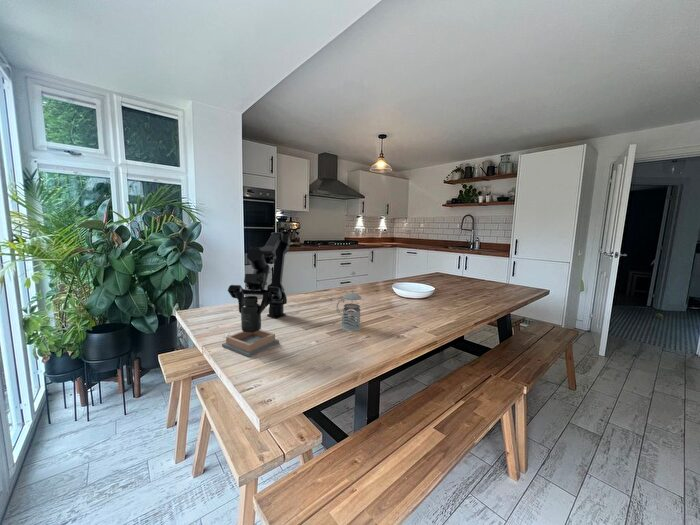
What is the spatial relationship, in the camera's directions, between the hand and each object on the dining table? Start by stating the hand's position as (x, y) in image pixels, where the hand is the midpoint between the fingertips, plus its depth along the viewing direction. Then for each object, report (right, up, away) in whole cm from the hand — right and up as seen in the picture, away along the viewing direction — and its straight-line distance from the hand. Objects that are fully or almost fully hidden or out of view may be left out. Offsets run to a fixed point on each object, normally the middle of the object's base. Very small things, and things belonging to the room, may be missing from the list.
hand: (249, 313), depth 101 cm
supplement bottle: (0, -7, +2) cm, 7 cm away
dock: (-1, -12, +3) cm, 12 cm away
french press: (+35, -11, +25) cm, 45 cm away
